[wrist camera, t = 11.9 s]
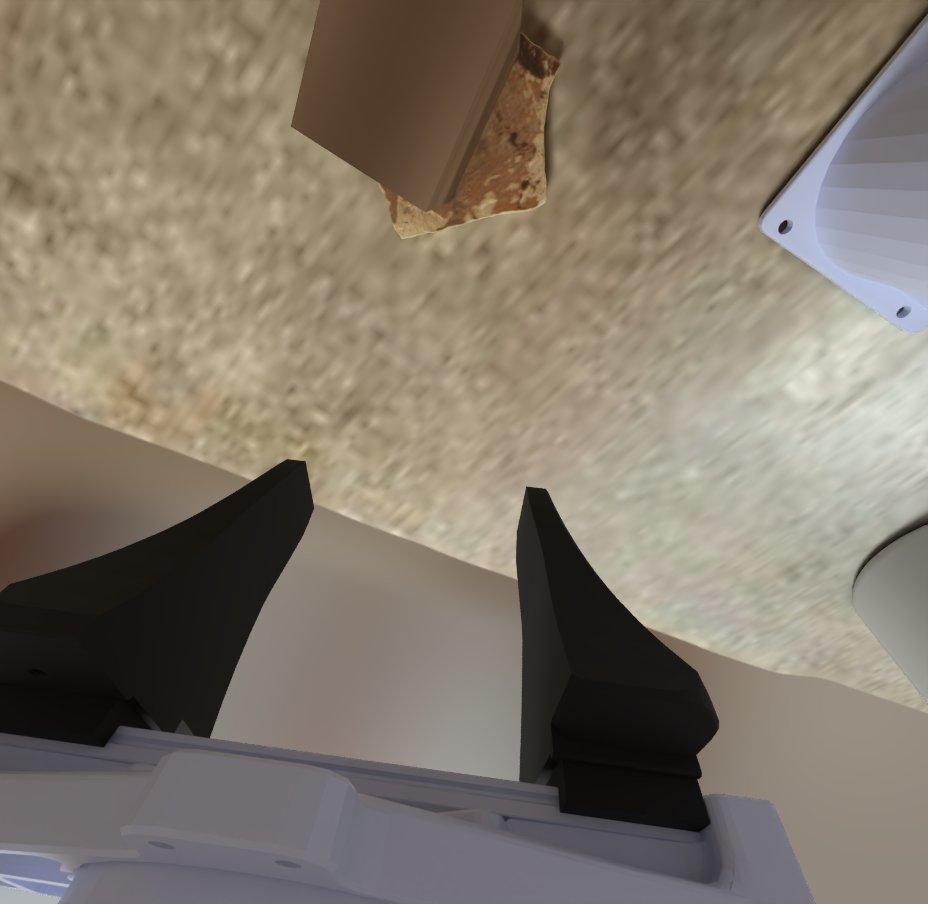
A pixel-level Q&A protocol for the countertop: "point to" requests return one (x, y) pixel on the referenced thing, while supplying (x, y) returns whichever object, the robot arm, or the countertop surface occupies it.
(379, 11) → the walnut block
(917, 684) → the cylinder vase
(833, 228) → the robot arm
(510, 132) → the shard
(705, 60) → the countertop surface
